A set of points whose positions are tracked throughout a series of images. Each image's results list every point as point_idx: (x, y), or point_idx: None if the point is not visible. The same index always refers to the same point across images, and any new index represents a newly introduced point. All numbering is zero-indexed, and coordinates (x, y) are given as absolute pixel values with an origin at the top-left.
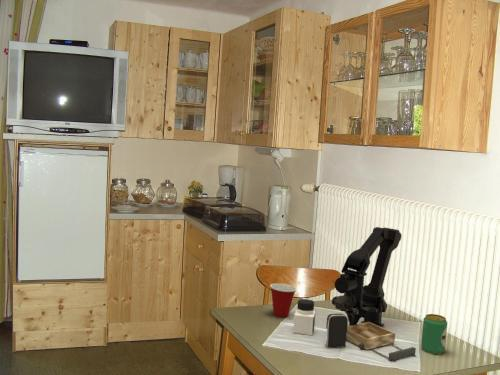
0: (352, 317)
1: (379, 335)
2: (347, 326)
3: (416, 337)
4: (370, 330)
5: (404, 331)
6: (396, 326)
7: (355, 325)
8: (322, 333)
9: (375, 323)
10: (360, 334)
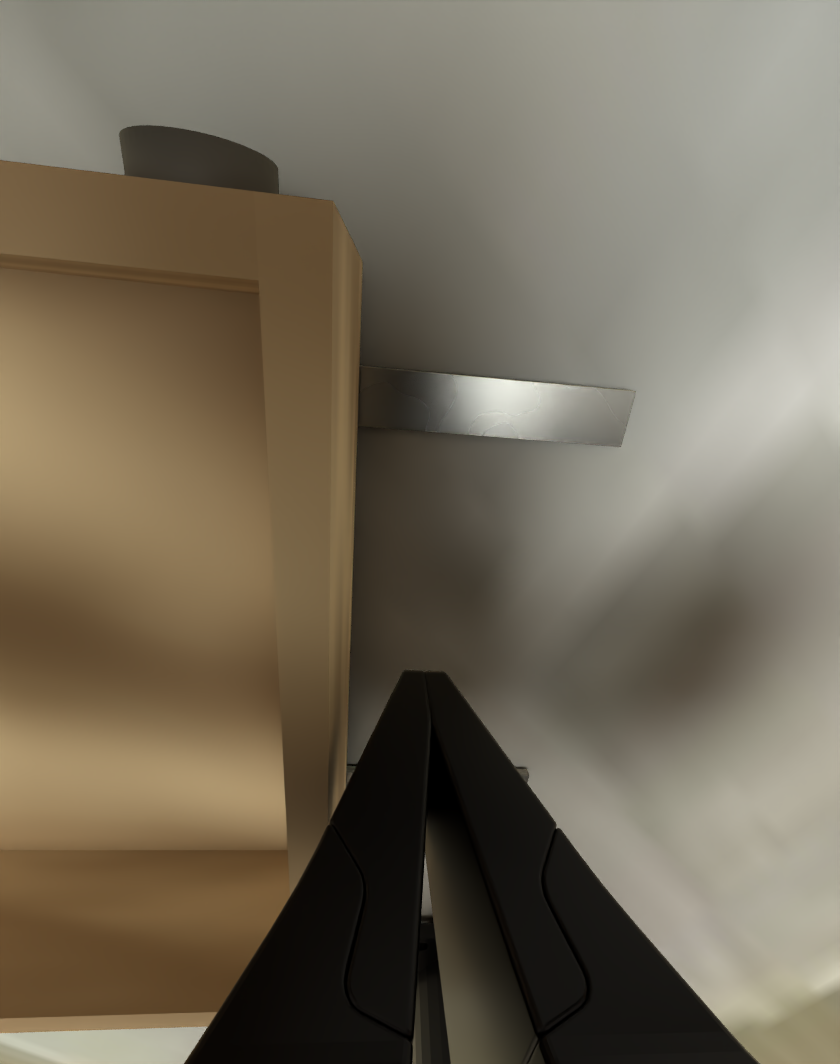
0: (326, 1032)
1: (81, 846)
2: (303, 519)
3: (21, 1039)
4: (271, 861)
5: (195, 1041)
6: None
7: (284, 764)
8: (824, 62)
9: (423, 1000)
10: (219, 666)
